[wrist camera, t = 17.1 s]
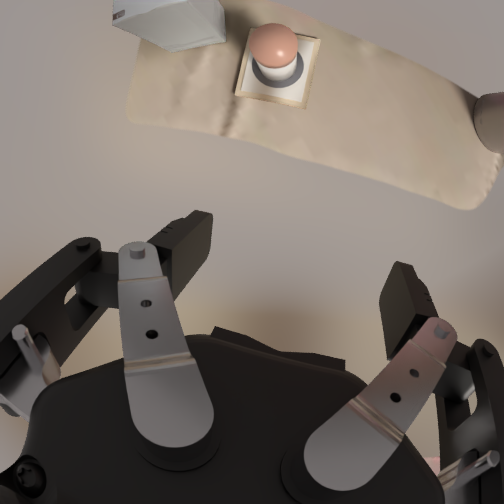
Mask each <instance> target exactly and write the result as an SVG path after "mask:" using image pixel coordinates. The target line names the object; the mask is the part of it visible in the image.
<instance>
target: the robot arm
mask: <svg viewBox="0 0 504 504" xmlns="http://www.w3.org/2000/svg"><path fill="white" fill-rule="evenodd" d="M474 124H475V128H476V131H477V134H478V136H479V138H480V140H481V142H482V143H483V144H484V146H485V147H486V148H487V149H489V150H490V151H492V152H495V153H500V154H504V92H500V93H492V94H486V95H483V96H481V97H480V98H479V99H478V100H477V102H476V105H475V108H474ZM212 224H213V215H212V214H211V213H207V212H203V211H198V210H195V211H193V212H192V213H191V214H189V215H188V216H187V217H186V218H180V219H177V220H174V221H172V222H171V223H170V224H168V225H167V226H166V227H164V228H163V229H162V230H161V231H160V232H158V233H157V234H156V235H154V236H153V237H152V238H151V239H150V240H148V241H147V242H131V243H128V244H125V245H124V246H122V247H121V248H120V250H119V253H116V252H104V251H101V244H100V241H99V240H98V239H96V238H92V237H83V238H79V239H76V240H73V241H72V242H71V243H69V244H68V245H66V246H65V247H64V248H62V249H61V250H60V251H59V252H57V253H56V254H54V255H53V256H52V257H51V258H49V259H48V260H47V261H46V262H44V263H43V264H42V265H41V266H39V267H38V268H37V269H36V270H34V271H33V272H32V273H31V274H30V275H28V276H27V277H26V278H25V279H24V280H22V281H21V282H20V283H19V284H18V285H17V286H16V287H14V288H13V289H12V290H11V291H10V292H9V293H8V294H7V295H5V296H4V297H3V298H2V299H1V300H0V406H1V407H2V408H3V409H4V410H5V411H6V412H7V413H8V414H9V415H11V416H15V417H18V416H21V417H23V418H24V419H25V420H26V421H27V422H29V427H28V432H27V437H26V441H25V445H24V447H23V450H22V453H21V455H20V457H19V458H18V460H17V461H16V462H15V463H14V464H13V465H12V466H10V467H9V468H8V469H6V470H5V471H3V472H2V473H0V504H504V367H503V364H502V361H501V359H500V356H499V354H498V351H497V350H496V348H495V347H494V346H493V345H492V344H491V343H489V342H488V341H486V340H484V339H477V340H476V341H475V342H474V343H473V345H472V346H471V347H468V346H466V345H464V344H462V343H460V342H458V341H457V333H456V331H455V329H454V328H453V327H452V325H450V324H449V323H448V322H447V321H445V320H443V319H441V318H439V316H438V314H437V311H436V309H435V306H434V304H433V302H432V299H431V296H429V295H430V294H429V291H428V289H427V287H426V286H425V284H424V283H423V282H422V281H421V280H420V279H418V277H417V275H416V272H415V270H414V268H413V266H412V265H409V264H406V263H402V262H399V261H396V262H395V263H394V265H393V267H392V269H391V271H390V274H389V276H388V278H387V280H386V283H385V285H384V287H383V289H382V292H381V295H380V300H379V306H380V312H381V319H382V325H383V331H384V339H385V346H386V354H387V360H389V361H390V363H389V364H388V365H387V366H386V367H385V368H384V369H383V370H382V371H381V372H380V373H379V375H377V376H376V377H375V378H374V380H373V381H372V382H371V383H370V384H369V385H367V384H366V383H365V382H364V381H362V380H361V379H360V378H359V377H357V376H356V375H354V374H352V373H350V372H348V371H346V370H345V360H343V359H338V358H333V357H329V356H325V355H320V354H316V353H299V352H281V351H277V350H275V349H273V348H271V347H269V346H266V345H265V344H263V343H261V342H259V341H257V340H255V339H253V338H251V337H249V336H247V335H243V334H240V333H236V332H232V331H229V330H226V329H223V328H219V327H216V326H215V327H214V329H213V331H212V333H211V335H206V334H196V335H187V336H184V334H183V330H182V327H181V324H180V321H179V318H178V314H177V311H176V307H175V304H174V301H175V299H176V298H177V297H178V295H179V294H180V292H182V290H183V289H184V288H185V286H186V285H187V284H188V282H189V281H190V280H191V278H192V277H193V276H194V275H195V273H196V272H197V271H198V269H199V268H200V267H201V266H202V264H203V263H204V262H205V260H206V259H207V257H208V254H209V251H210V246H211V234H212ZM74 285H75V289H76V294H75V295H74V296H73V297H72V298H71V299H70V300H69V301H68V302H67V303H66V304H64V300H65V296H66V294H67V292H68V291H69V290H70V289H71V288H72V287H73V286H74ZM108 308H117V309H119V315H120V328H121V338H122V348H123V356H124V358H121V359H118V360H115V361H112V362H110V363H107V364H104V365H101V366H98V367H95V368H92V369H89V370H86V371H83V372H80V373H77V374H74V375H71V376H68V377H65V378H62V379H60V376H61V369H60V367H61V366H62V365H63V363H64V362H65V361H66V359H67V358H68V357H69V355H70V354H71V353H72V352H73V350H74V349H75V348H76V347H77V345H78V344H79V343H80V341H81V340H82V339H83V338H84V337H85V335H86V334H87V333H88V332H89V330H90V329H91V328H92V327H93V325H94V324H95V323H96V322H97V321H98V319H99V318H100V317H101V316H102V315H103V313H104V312H105V311H106V310H107V309H108ZM474 391H475V392H476V396H477V407H476V409H475V411H474V413H473V414H472V415H471V413H470V408H469V402H468V397H469V396H470V395H471V394H472V393H473V392H474ZM431 393H434V394H435V398H436V407H437V417H438V428H439V444H440V472H439V474H438V476H436V475H435V474H434V472H433V471H432V469H431V468H430V467H429V465H428V464H427V463H426V461H425V460H424V459H423V457H422V456H421V455H420V453H419V452H418V451H417V449H416V448H415V446H414V445H413V444H412V442H411V441H410V440H409V438H408V437H407V436H406V434H405V432H406V431H407V429H408V428H409V427H410V425H411V424H412V422H413V421H414V419H415V418H416V417H417V415H418V413H419V412H420V411H421V409H422V407H423V406H424V404H425V403H426V401H427V400H428V398H429V396H430V395H431Z"/></svg>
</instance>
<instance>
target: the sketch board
mask: <svg viewBox="0 0 504 504" xmlns="http://www.w3.org/2000/svg"><path fill="white" fill-rule="evenodd" d="M256 29H257V28H250V32H249V36H248V40H247V44H246V48H245V52H244V56H243V60H242V65H241V69H240V73H239V78H238V82H237V86H236V91H235V96H240V97H246V98H252V99H258V100H263V101H269V102H274V103H279V104H284V105H288V106H293V107H297V108H301V109H306V106H307V101H308V97H309V92H310V88H311V83H312V78H313V74H314V69H315V64H316V59H317V55H318V50H319V45H320V40H319V39H315V38H310V37H306V36H301V35H296V34H295V35H296V37H297V41H298V51H297V62H296V71H295V73H294V74H293V76H292V77H290V78H289V79H287V80H285V81H280V82H276V81H272V80H269V79H267V78H266V77H265V76H264V75H263V74H262V72H261V70H260V68H259V66H258V64H257V62H256V60H255V59H254V57H253V55H252V53H251V51H250V48H249V39H250V36H251V34H252V33H253V32H254V31H255V30H256Z"/></svg>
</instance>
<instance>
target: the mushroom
mask: <svg viewBox="0 0 504 504" xmlns="http://www.w3.org/2000/svg"><path fill="white" fill-rule="evenodd" d="M249 48H250V51H251V53H252V55H253V57H254V59H255V60H256V62H257V64H258V66H259V68H260V70H261V72H262V74H263V75H264V76H265V77H266V78H267V79H269V80H272V81H276V82H280V81H285V80H287V79H289V78H290V77H292V76H293V74H294V73H295V71H296V62H297V51H298V41H297V37H296V35H295V34H294V32H293V31H292V30H291V29H290V28H288V27H286V26H284V25H281V24H276V23H270V24H265V25H262V26H260V27H258V28H257V29H256V30H255V31H254V32H253V33H252V34H251V36H250V39H249Z"/></svg>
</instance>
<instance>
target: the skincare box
mask: <svg viewBox="0 0 504 504" xmlns="http://www.w3.org/2000/svg"><path fill="white" fill-rule="evenodd" d="M113 26H115V27H118V28H120V29H122V30H125V31H127V32H130V33H132V34H134V35H136V36H139V37H141V38H143V39H145V40H147V41H149V42H151V43H154V44H156V45H158V46H160V47H162V48H164V49H166V50H168V51H170V52H171V53H173V52H177V51H182V50H186V49H191V48H196V47H200V46H206V45H210V44H215V43H222V42H226V29H225V14H224V8H223V7H222V5H221V4H220V3H219V1H218V0H114V3H113Z"/></svg>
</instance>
